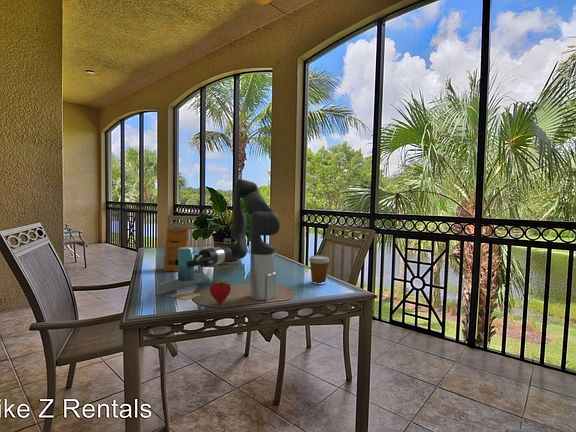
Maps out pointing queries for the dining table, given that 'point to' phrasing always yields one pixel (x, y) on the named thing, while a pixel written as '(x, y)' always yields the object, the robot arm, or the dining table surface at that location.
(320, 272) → the glass of beer
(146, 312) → the dining table surface
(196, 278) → the acrylic wall
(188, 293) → the coaster
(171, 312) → the dining table surface
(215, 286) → the strawberry
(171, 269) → the coffee package
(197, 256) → the robot arm
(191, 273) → the can
